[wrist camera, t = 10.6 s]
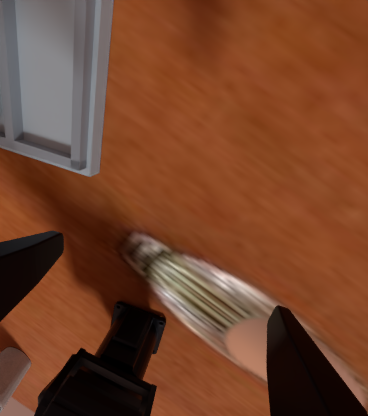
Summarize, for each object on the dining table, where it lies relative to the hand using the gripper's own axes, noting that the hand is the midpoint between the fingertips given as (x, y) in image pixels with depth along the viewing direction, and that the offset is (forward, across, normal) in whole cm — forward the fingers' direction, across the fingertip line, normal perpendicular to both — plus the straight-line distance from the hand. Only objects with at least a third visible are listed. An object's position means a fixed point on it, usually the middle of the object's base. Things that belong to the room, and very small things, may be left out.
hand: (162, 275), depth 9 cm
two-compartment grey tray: (+12, +17, -6) cm, 21 cm away
